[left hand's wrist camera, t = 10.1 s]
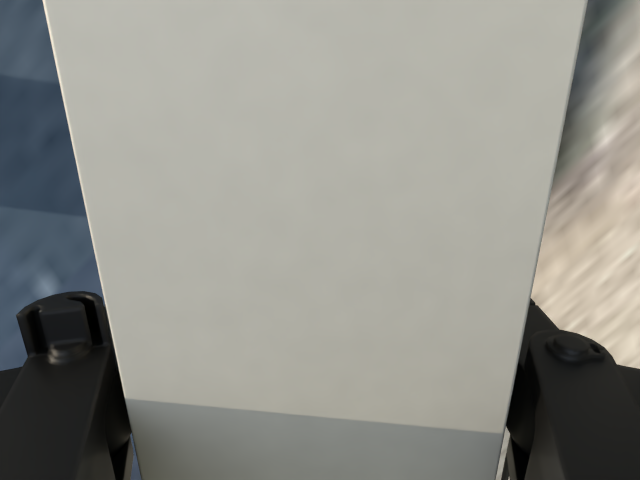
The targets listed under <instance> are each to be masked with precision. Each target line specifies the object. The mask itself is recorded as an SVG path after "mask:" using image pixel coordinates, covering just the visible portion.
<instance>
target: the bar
mask: <svg viewBox="0 0 640 480" xmlns="http://www.w3.org/2000/svg"><path fill="white" fill-rule="evenodd" d="M587 2H588V0H43V4H44V9H45V14H46V19H47V24H48V29H49V33H50V38H51V43H52V48H53V53H54V58H55V62H56V67H57V72H58V77H59V82H60V87H61V92H62V96H63V101H64V106H65V111H66V116H67V121H68V125H69V130H70V135H71V140H72V145H73V150H74V155H75V159H76V164H77V169H78V174H79V179H80V184H81V188H82V193H83V198H84V203H85V208H86V213H87V217H88V222H89V227H90V232H91V237H92V242H93V247H94V251H95V256H96V261H97V266H98V271H99V276H100V280H101V285H102V290H103V295H104V300H105V305H106V309H107V314H108V319H109V324H110V329H111V334H112V339H113V343H114V348H115V353H116V358H117V363H118V368H119V372H120V377H121V382H122V387H123V392H124V397H125V401H126V406H127V411H128V416H129V421H130V426H131V431H132V435H133V440H134V445H135V450H136V455H137V460H138V464H139V469H140V474H141V479H142V480H495V479H496V474H497V469H498V463H499V458H500V453H501V448H502V443H503V438H504V432H505V427H506V422H507V417H508V412H509V406H510V401H511V396H512V391H513V386H514V380H515V375H516V370H517V365H518V360H519V355H520V349H521V344H522V339H523V334H524V329H525V323H526V318H527V313H528V308H529V303H530V297H531V292H532V287H533V282H534V277H535V272H536V266H537V261H538V256H539V251H540V246H541V240H542V235H543V230H544V225H545V220H546V214H547V209H548V204H549V199H550V194H551V189H552V183H553V178H554V173H555V168H556V163H557V157H558V152H559V147H560V142H561V137H562V131H563V126H564V121H565V116H566V111H567V106H568V100H569V95H570V90H571V85H572V80H573V74H574V69H575V64H576V59H577V54H578V48H579V43H580V38H581V33H582V28H583V23H584V17H585V12H586V7H587Z"/></svg>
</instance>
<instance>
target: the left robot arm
mask: <svg viewBox="0 0 640 480" xmlns="http://www.w3.org/2000/svg"><path fill="white" fill-rule="evenodd" d="M16 317H17V320H18V324H19V327H20V331H21V334H22V337H23V341H24V344H25V348H26V351H27V355H28V358H27V360H26V362H25V363H24V365H23V367H19V368H14V369H9V370H4V371H0V480H130V478H131V470H132V462H133V448H132V443H131V438H130V434H131V432H132V431H131V426H130V421H129V416H128V411H127V406H126V401H125V397H124V392H123V387H122V382H121V377H120V372H119V368H118V363H117V358H116V353H115V348H114V343H113V339H112V334H111V329H110V324H109V319H108V314H107V309H106V305H105V307H104V305H103V300H102V297H100V296H99V295H97V294H96V293H91V292H85V291H78V292H66V293H61V294H55V295H51V296H49V297H46V298H43V299H40V300H37V301H35V302H33V303H32V304H30V305H28V306H26V307H24V308H23V309H22V310H21V311H20V312H19V313H18V314H17V315H16ZM506 427H507V429H508V430H509V432H510V438H509V443H508V448H507V453H506V458H505V462H504V467H503V472H502V478H501V480H508V477H510V480H640V369H637V368H631V367H626V366H621V365H617V364H616V363H615V361H614V359H613V357H612V356H611V354H610V353H609V352H608V351H607V350H606V349H605V348H604V347H603V346H601V345H600V344H598V343H597V342H595V341H594V340H592V339H590V338H587V337H585V336H582V335H580V334H577V333H573V332H568V331H564V330H559V329H558V328H557V327H556V325H555V324H554V323H553V322H552V321H551V320H550V319H549V318H548V317H547V315H546V314H545V313H544V312H543V311H542V310H541V309H540V308H539V307H538V306H537V305H535V302H534V301H533V300H532V299H531V298H530V303H529V308H528V313H527V318H526V323H525V329H524V334H523V339H522V344H521V349H520V355H519V360H518V365H517V370H516V375H515V380H514V386H513V391H512V396H511V401H510V406H509V412H508V417H507V422H506Z"/></svg>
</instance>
